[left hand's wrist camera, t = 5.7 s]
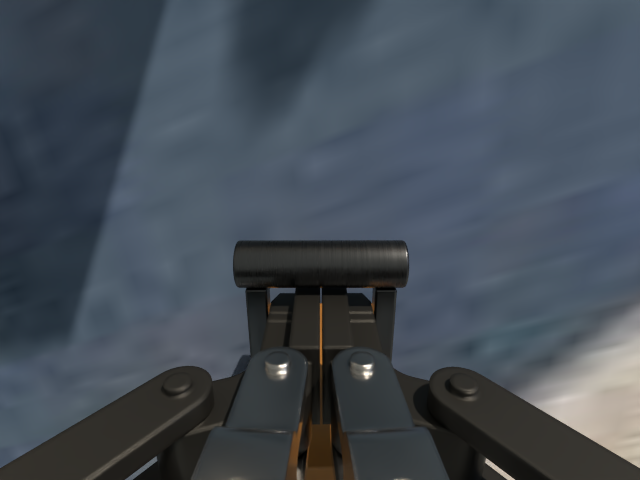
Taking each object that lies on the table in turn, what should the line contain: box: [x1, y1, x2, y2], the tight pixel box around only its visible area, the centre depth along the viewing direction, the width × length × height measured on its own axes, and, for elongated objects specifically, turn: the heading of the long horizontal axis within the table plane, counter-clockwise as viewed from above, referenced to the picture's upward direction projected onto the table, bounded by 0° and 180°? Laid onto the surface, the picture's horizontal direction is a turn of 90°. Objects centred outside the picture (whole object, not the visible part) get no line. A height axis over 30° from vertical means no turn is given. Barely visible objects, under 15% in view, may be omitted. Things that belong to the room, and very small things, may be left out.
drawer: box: [233, 240, 409, 480], centre depth 16 cm, size 22×5×9 cm, turn 0°
